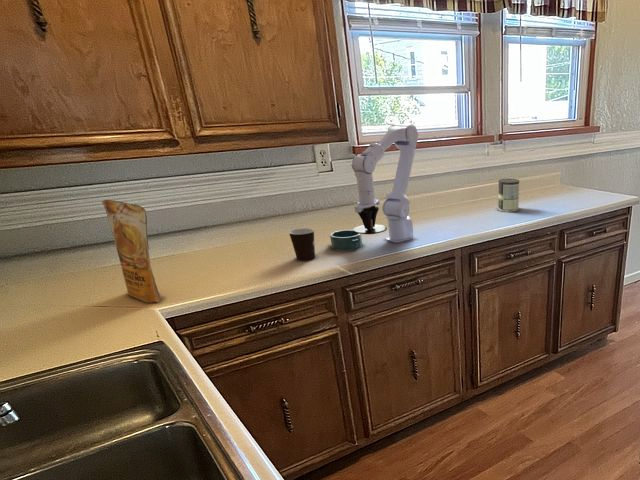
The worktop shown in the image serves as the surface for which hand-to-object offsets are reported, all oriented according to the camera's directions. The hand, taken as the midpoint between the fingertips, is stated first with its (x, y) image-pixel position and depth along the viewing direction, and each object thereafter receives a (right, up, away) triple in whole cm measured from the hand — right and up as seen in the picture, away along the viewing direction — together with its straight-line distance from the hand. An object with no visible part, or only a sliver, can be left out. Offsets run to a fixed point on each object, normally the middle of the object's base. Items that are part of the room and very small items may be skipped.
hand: (369, 227), depth 196 cm
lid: (0, -1, 0) cm, 1 cm away
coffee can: (+56, +25, +64) cm, 89 cm away
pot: (-10, -6, +7) cm, 14 cm away
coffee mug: (-22, -12, -4) cm, 26 cm away
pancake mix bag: (-60, -31, -38) cm, 78 cm away
